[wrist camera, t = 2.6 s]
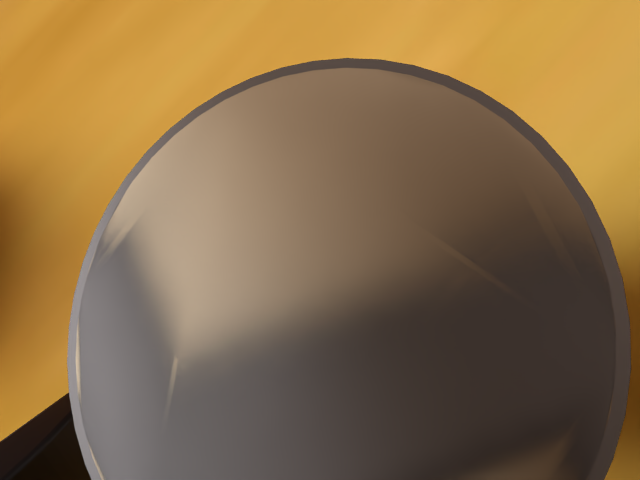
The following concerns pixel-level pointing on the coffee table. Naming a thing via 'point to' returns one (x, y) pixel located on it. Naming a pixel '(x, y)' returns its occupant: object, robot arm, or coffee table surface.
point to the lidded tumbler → (349, 293)
